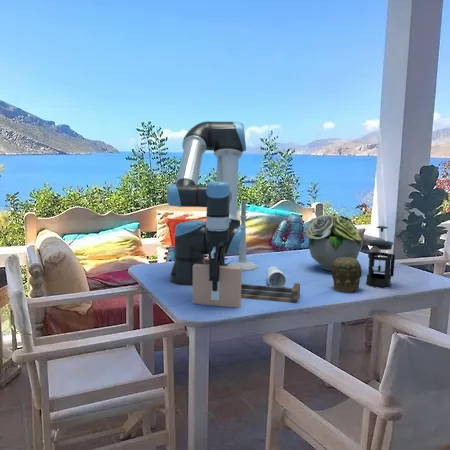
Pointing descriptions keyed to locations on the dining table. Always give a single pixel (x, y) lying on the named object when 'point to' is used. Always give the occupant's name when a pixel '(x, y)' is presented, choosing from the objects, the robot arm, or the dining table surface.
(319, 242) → the flower arrangement
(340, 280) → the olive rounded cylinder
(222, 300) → the door panel
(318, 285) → the dining table surface
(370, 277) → the french press
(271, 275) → the drinking glass
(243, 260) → the candlestick
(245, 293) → the brown wooden rack
